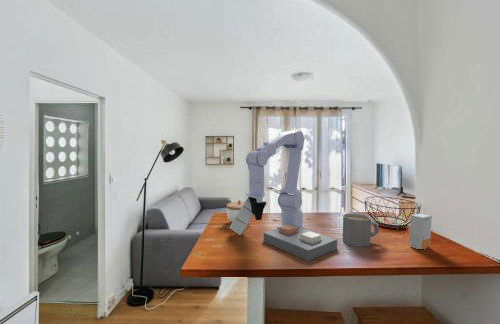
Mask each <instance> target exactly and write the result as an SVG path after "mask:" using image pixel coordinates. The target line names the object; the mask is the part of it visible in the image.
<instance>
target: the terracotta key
mask: <svg viewBox="0 0 500 324" xmlns="http://www.w3.org/2000/svg"><path fill="white" fill-rule="evenodd" d="M279 226H280V227H279V232H280V233H282V234H285V235H288V236H289V235H292V234H296V233H297V227H295V226H292V225H288V224H287V225H284V226H281V225H279Z"/></svg>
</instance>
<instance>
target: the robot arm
mask: <svg viewBox="0 0 500 324" xmlns="http://www.w3.org/2000/svg"><path fill="white" fill-rule="evenodd" d="M304 144H305V135H304V132H303V131H301V130H300V129H299V130H289V131H281V132H279V133H278V136H277V137H275V138H274V139H273V140H272V141H264V142H263V144H261V146H260V147H256V149H255V150H251V151H249V152H248V153H247V155H246V158H245V162H246V165H247V170H248V175H249V177H248V179H249V180H248V181H249V183H248V184H249V185H248V186H249V187H248V189H249V191H248V192H249V193H246V197H247V198H248V199H249V201H250V204H251V209H252V213H253V216H254V219H255V221H261V220H262V218H263V213H264V210H265V208H266V206H267V201H263V199H264V198H265V195H266V194H265V166H266V165H267V163H268V160H269V159H271V157H272V156H274V155H275V154H276V152H277V149H279V148H280V147H282V146H283V148H284V149H285V150H286V151H288V153H289V154H288V156H289V157H288V163H287V164H288V165H287V170H286V171H287V172H286V179H285V186H283V188H281V189H280V191H279V195H278V198H277V205H278V206H279V208H280V209H281V225H277V229H278V228H279V227H280V226H284V225H287V224H288V225H294V226H297V227H300V228H303V229H305V226H303V218H304V217H303V211H302V209H301V208H302V204H303V199H302V195H303V194H302V192H301V191H300V190H299V189H298V181H299V173H300V165H301V158H302V151H303V150H304V147H305V145H304Z"/></svg>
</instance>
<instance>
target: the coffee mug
mask: <svg viewBox="0 0 500 324" xmlns="http://www.w3.org/2000/svg"><path fill="white" fill-rule="evenodd" d="M372 226H374V230H373V231H372ZM379 230H380V226H379V223H377V221H376V220H372V218H371V216H369V215H366V214H363V213H362V214H361V213H352V212H351V213H350V212H349V213H344V214H343V216H342V242H343V243H344V244H345V243H346V245H348V246H350V247H355V246H358V248H366V247H365V246H367V247H369V245H370V246H371V238H373V237H375V236H377V235H378V233H379Z"/></svg>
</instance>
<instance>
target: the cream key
mask: <svg viewBox="0 0 500 324" xmlns="http://www.w3.org/2000/svg"><path fill="white" fill-rule="evenodd" d="M310 231H311V230H309V232H306V233H303V234H301V241H304V242H307V243H310V244H315V243H318V242H320V241H321V235H320V234H321V233H319V234H316V233H317V232H316V233H313V232H314V231H312V232H310Z"/></svg>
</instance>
